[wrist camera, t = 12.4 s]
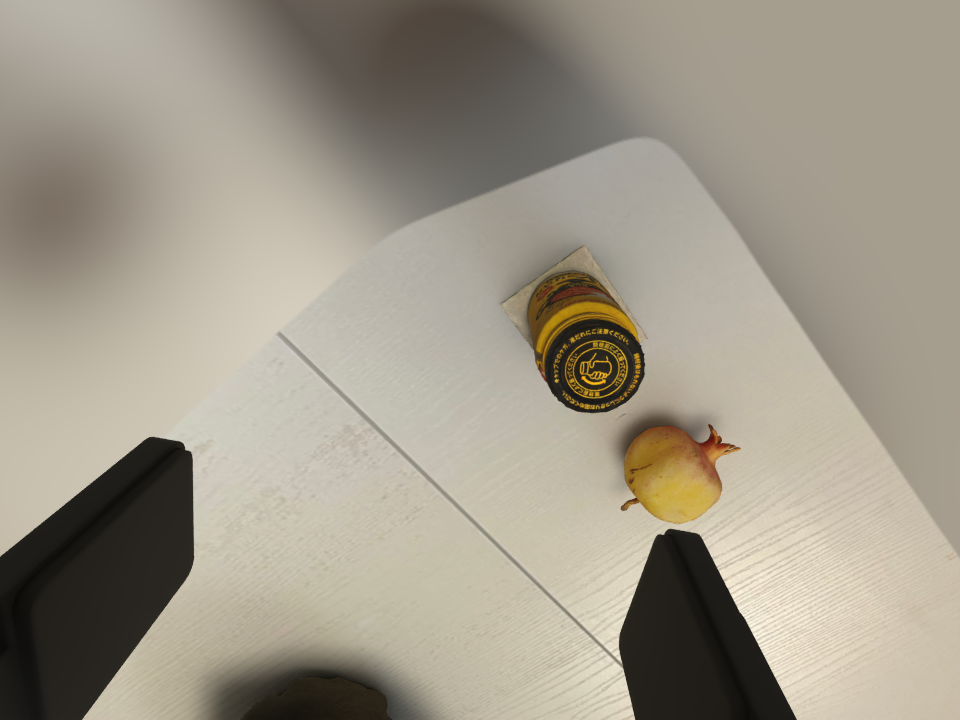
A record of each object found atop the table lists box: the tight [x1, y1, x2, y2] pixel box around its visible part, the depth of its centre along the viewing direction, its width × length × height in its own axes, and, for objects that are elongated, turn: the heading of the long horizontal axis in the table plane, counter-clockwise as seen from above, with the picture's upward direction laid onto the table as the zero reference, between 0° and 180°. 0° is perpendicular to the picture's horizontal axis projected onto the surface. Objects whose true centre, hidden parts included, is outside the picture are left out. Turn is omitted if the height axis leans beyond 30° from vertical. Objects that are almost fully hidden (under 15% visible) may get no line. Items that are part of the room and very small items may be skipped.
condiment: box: [500, 245, 648, 413], centre depth 34 cm, size 7×8×12 cm
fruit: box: [621, 424, 741, 524], centre depth 40 cm, size 7×7×10 cm
